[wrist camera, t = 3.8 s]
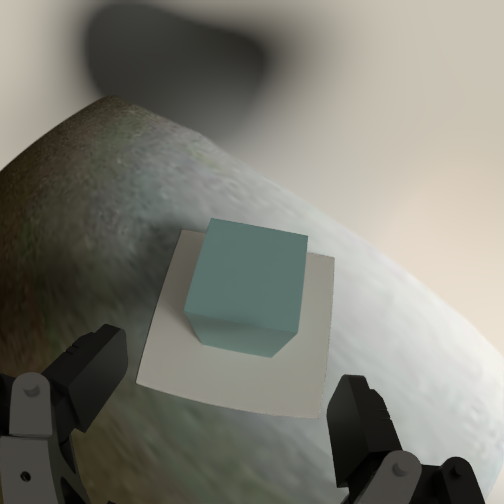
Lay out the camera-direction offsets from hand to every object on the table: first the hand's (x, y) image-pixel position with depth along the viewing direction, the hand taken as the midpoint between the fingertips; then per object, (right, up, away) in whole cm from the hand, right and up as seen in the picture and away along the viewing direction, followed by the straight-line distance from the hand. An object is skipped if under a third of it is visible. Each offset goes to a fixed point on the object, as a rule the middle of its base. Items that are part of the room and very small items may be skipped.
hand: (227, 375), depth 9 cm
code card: (0, -2, +15) cm, 15 cm away
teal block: (0, -2, +15) cm, 15 cm away
